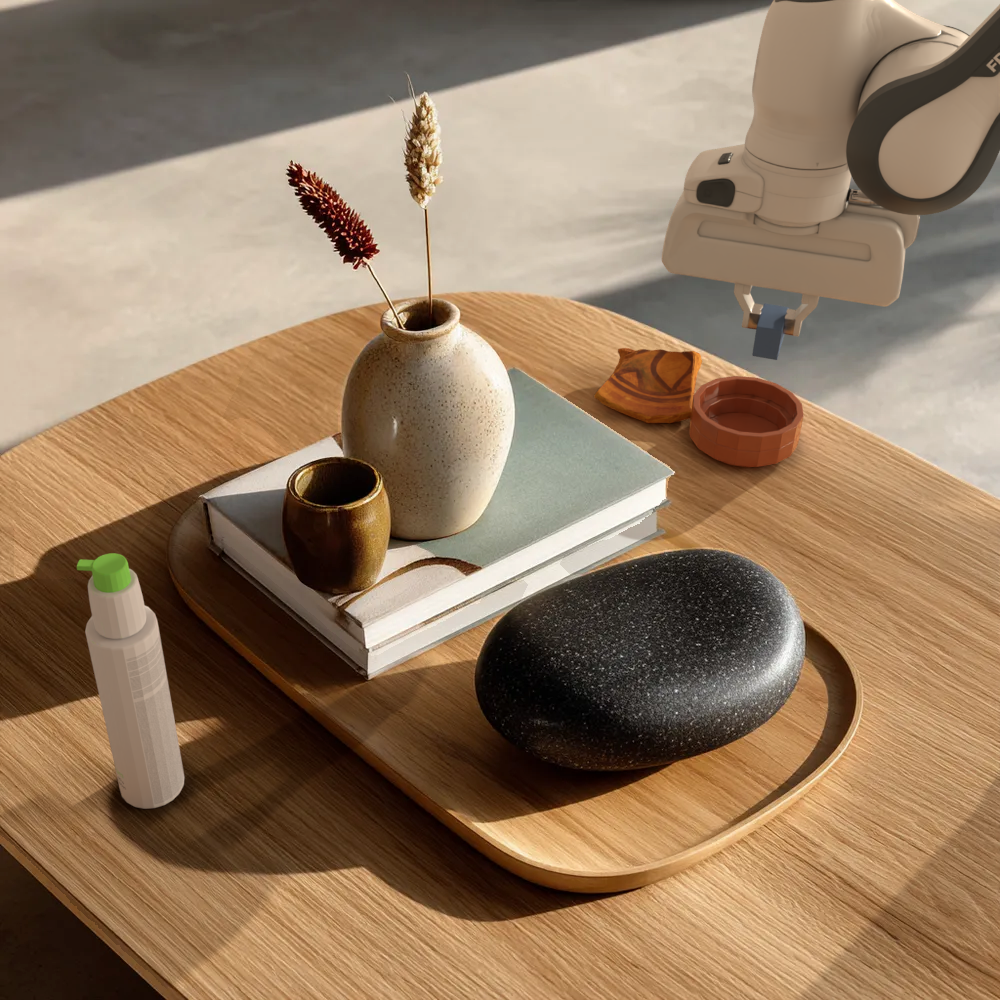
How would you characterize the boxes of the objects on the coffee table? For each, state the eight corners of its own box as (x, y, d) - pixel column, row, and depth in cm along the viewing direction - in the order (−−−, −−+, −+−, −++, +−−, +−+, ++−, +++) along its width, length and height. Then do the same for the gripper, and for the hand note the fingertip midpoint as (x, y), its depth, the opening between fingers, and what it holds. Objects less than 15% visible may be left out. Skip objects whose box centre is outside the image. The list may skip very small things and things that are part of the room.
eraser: (759, 332, 120) (764, 302, 119) (784, 336, 120) (789, 306, 118) (751, 356, 117) (756, 326, 115) (777, 360, 116) (782, 330, 115)
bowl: (739, 399, 133) (744, 365, 131) (818, 446, 127) (825, 411, 124) (666, 434, 128) (670, 399, 125) (745, 484, 122) (751, 449, 119)
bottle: (144, 752, 94) (100, 533, 82) (197, 772, 93) (160, 552, 81) (107, 797, 91) (56, 575, 79) (161, 817, 90) (118, 595, 78)
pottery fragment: (703, 348, 135) (699, 385, 126) (699, 390, 137) (695, 429, 128) (604, 339, 136) (593, 375, 127) (601, 381, 138) (591, 419, 129)
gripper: (927, 184, 109) (893, 331, 117) (680, 150, 114) (665, 294, 122) (922, 216, 104) (888, 367, 113) (665, 179, 109) (651, 327, 117)
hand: (770, 329), depth 117 cm, fingers closed on eraser, 2 cm apart
